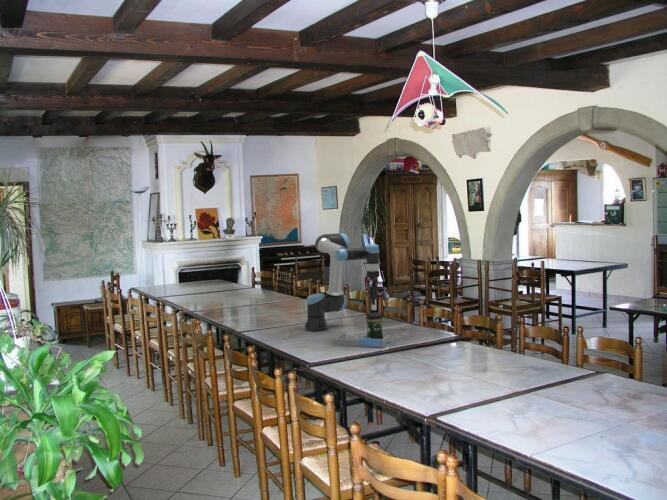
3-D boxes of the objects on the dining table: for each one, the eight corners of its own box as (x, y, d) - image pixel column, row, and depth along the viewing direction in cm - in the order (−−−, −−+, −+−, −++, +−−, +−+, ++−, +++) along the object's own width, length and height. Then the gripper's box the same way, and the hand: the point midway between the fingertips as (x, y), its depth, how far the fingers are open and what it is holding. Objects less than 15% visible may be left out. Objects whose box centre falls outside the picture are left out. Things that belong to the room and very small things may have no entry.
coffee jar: (378, 340, 395) (378, 310, 394) (385, 343, 388) (384, 312, 386) (364, 342, 391) (363, 312, 390) (370, 345, 384) (369, 314, 382)
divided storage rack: (343, 339, 403) (342, 331, 402) (390, 341, 393) (390, 333, 392) (333, 345, 386) (333, 337, 386) (383, 348, 376) (383, 340, 376)
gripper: (369, 269, 393) (370, 307, 395) (363, 271, 381) (364, 311, 383) (381, 269, 391) (382, 308, 393) (376, 271, 378) (377, 311, 380)
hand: (374, 309), depth 388 cm, fingers closed
